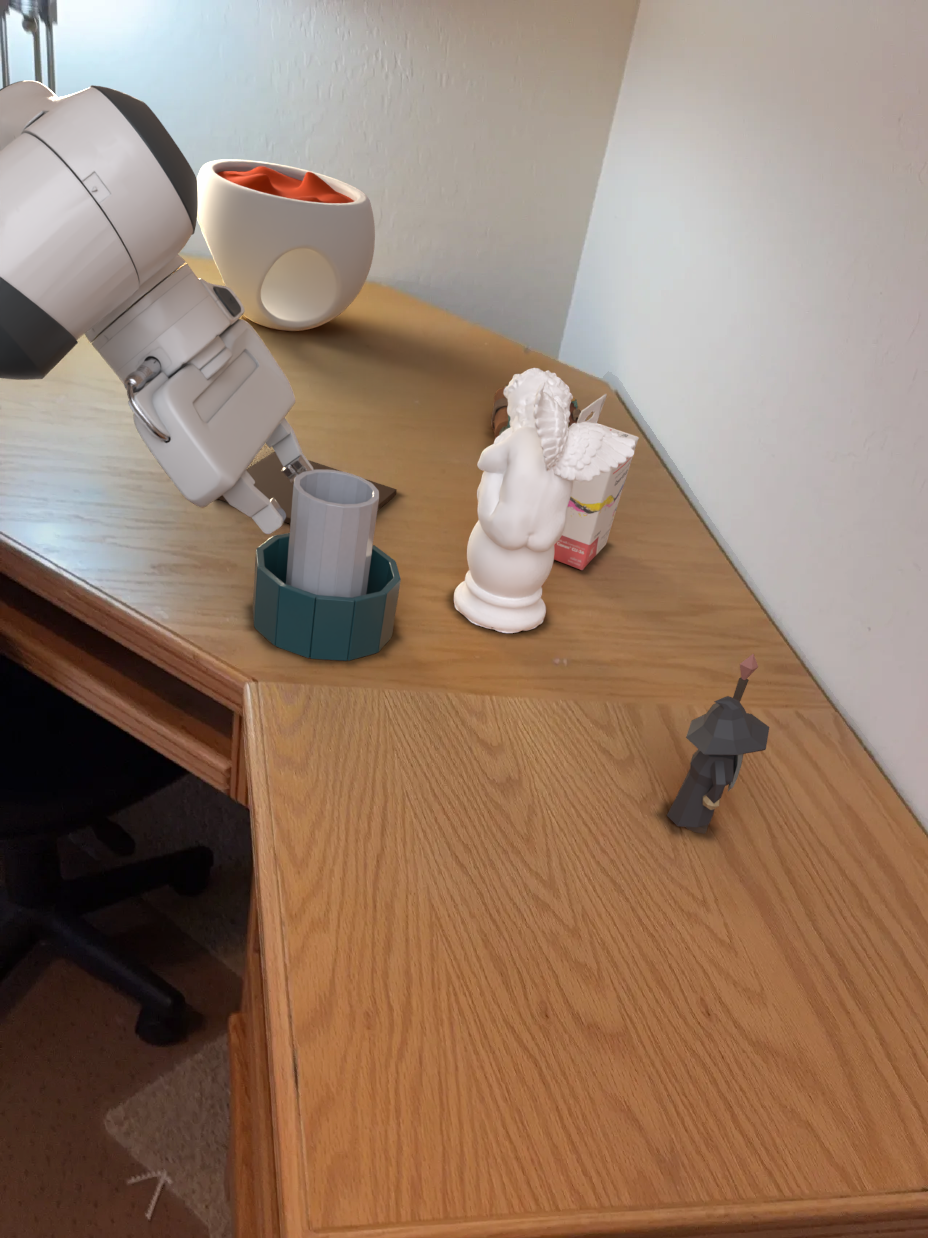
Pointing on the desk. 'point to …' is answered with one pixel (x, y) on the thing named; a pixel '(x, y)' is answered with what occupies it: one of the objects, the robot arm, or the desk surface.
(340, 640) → the teal faceted ring
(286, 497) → the mat
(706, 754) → the wizard figurine
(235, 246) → the pot
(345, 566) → the cup
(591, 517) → the ink cartridge box
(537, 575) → the cherub figurine
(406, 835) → the desk surface
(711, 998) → the desk surface
